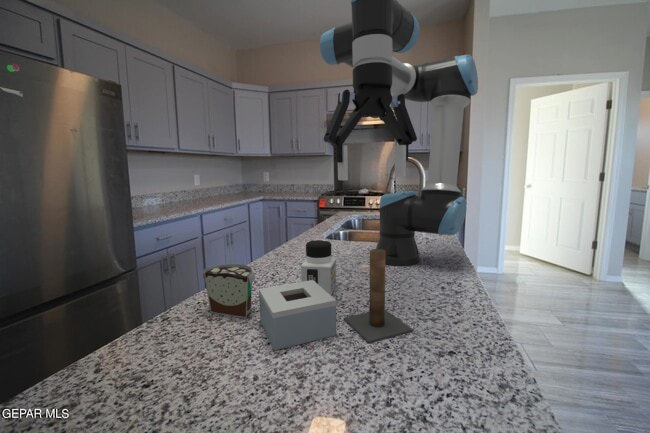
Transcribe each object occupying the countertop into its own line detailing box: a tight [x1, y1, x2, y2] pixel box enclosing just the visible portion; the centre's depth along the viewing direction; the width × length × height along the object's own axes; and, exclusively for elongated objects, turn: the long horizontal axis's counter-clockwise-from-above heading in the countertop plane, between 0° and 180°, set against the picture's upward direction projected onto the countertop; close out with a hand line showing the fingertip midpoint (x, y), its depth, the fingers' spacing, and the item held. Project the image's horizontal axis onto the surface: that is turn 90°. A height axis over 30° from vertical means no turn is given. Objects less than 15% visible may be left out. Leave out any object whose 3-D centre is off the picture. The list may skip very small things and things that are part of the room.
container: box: [300, 239, 337, 296], centre depth 81 cm, size 8×8×13 cm
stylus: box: [368, 248, 386, 327], centre depth 61 cm, size 3×3×15 cm
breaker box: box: [258, 280, 337, 351], centre depth 62 cm, size 12×12×7 cm
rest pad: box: [343, 309, 414, 344], centre depth 63 cm, size 10×10×1 cm
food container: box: [202, 263, 256, 319], centre depth 70 cm, size 12×6×10 cm, turn 71°
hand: (372, 178), depth 63 cm, fingers open, 13 cm apart
